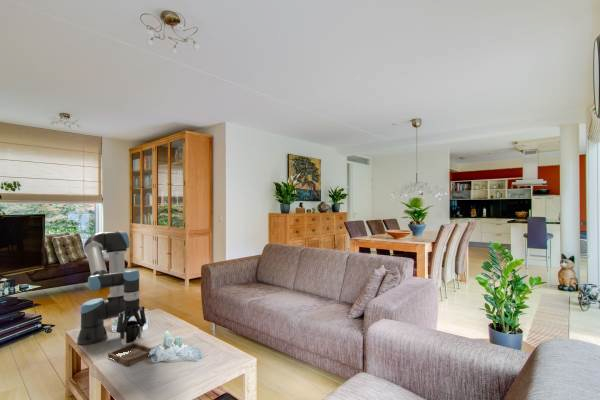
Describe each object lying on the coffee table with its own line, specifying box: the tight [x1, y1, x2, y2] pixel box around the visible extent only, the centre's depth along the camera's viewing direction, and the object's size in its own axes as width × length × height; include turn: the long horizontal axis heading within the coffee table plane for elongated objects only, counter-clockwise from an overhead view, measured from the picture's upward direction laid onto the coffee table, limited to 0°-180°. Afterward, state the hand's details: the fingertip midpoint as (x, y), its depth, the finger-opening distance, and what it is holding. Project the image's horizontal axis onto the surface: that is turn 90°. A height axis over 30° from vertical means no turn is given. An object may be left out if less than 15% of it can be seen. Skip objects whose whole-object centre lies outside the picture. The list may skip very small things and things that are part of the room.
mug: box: [125, 320, 140, 344], centre depth 169 cm, size 8×12×10 cm
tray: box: [107, 341, 153, 367], centre depth 169 cm, size 18×15×2 cm
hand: (131, 341), depth 169 cm, fingers closed on mug, 8 cm apart
